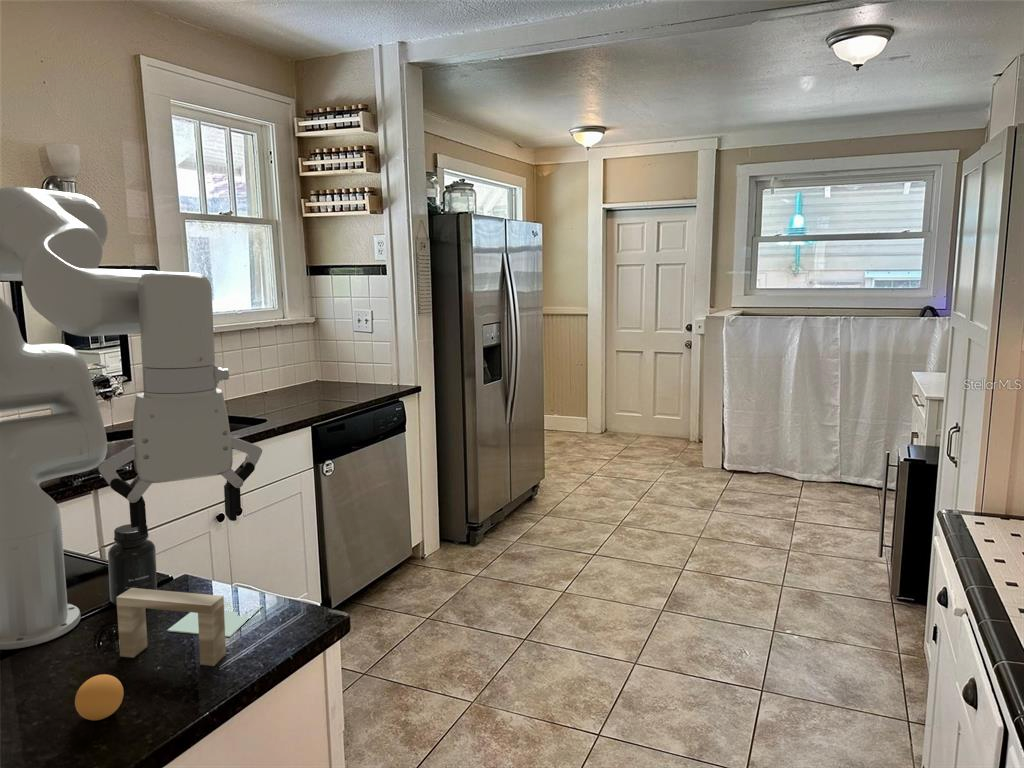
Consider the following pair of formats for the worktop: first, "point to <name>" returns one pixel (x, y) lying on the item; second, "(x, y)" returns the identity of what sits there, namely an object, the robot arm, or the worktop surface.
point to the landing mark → (231, 619)
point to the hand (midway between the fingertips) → (187, 524)
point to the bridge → (205, 605)
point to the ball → (99, 697)
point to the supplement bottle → (131, 562)
